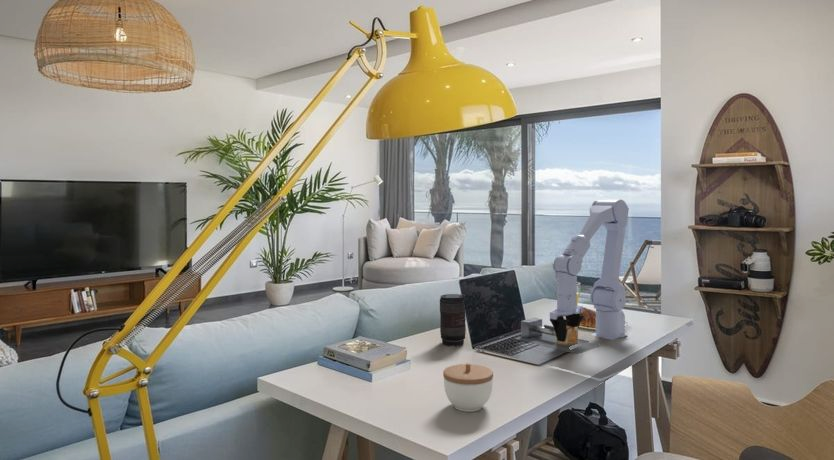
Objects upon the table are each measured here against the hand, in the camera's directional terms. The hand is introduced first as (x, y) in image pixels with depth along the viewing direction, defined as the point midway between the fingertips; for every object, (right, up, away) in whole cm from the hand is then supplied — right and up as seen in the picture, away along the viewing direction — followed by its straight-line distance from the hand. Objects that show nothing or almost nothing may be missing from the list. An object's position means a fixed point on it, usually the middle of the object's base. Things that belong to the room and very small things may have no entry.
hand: (566, 339), depth 163 cm
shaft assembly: (-6, -1, +7) cm, 9 cm away
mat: (-2, -2, +3) cm, 4 cm away
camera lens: (-34, -2, +5) cm, 34 cm away
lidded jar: (-34, -5, -46) cm, 58 cm away
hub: (0, -2, 0) cm, 2 cm away
